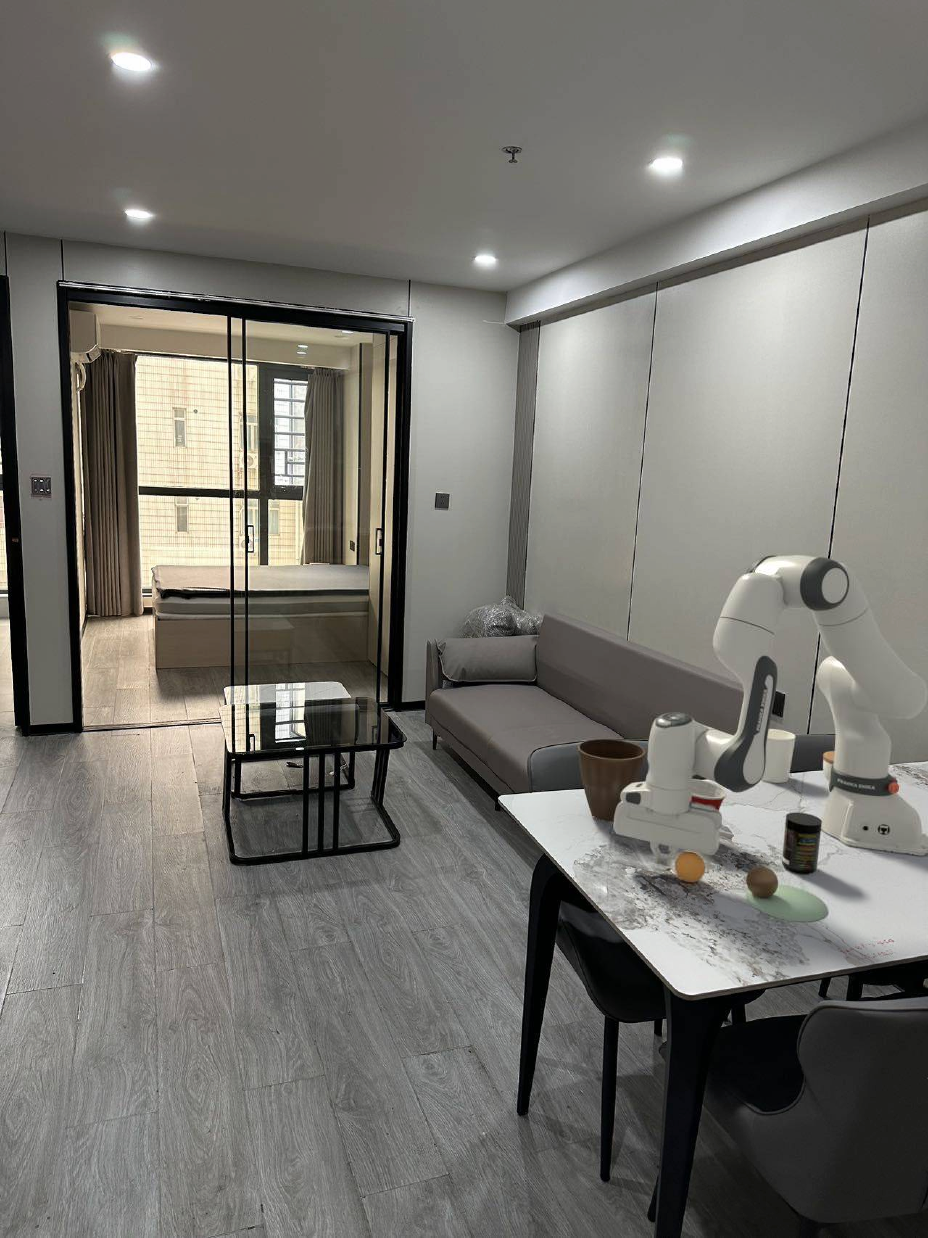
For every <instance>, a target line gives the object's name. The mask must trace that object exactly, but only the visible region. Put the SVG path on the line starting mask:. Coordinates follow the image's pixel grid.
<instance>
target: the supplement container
mask: <svg viewBox="0 0 928 1238" xmlns="http://www.w3.org/2000/svg"><path fill="white" fill-rule="evenodd" d="M821 819H822V818H819V817H818V816H815V815H813V814H811V813H806V812H789V813H787V814H786V815H785V822H784V833H783V845H782V854H781V855H782V856H781V864H782V866H783V868H784V869H785V870H787V871H789V872H790V873H794V874H798V875H812V874H814V873H815V872H816V871H817V869H818V863H819V852H820V843H821V842H820V841H821V833H822V829H821V827H822V820H821Z"/></svg>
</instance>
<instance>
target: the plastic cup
mask: <svg viewBox="0 0 928 1238" xmlns="http://www.w3.org/2000/svg"><path fill="white" fill-rule="evenodd" d="M692 781H693V787H692V800H691V801H692V802H696V803H700V804H704V805H711V806H714V807H715V809H717V810H718V811H719V812H720V809H721V806H722V803H723V801H724V799H725V798H727V796H728V791H727V789H726V788H725V787H723V786H721V785H719V784H717V783H716V784H715V782H714V783H713V782H711V781H707V780H702V779H695V778H692ZM714 812H716V811H714Z"/></svg>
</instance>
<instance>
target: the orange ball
mask: <svg viewBox="0 0 928 1238" xmlns="http://www.w3.org/2000/svg"><path fill="white" fill-rule="evenodd" d="M674 863H675V864H674V869H675V872H676V874H677V876H678V877H679V878H680V879H681V880H683V881H685V882H686V883H695V882H696V883H697V881H700V880H701V879H702V878H703V876H704V875H705V872H706V863H705V861H704V860H703V858H702V857H701V855H699V853H697V852H693V851H685V852H682V853H680V855H678V857H677V858H676V860H675V862H674Z"/></svg>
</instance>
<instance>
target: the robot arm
mask: <svg viewBox="0 0 928 1238" xmlns="http://www.w3.org/2000/svg"><path fill="white" fill-rule="evenodd" d="M853 572H854V571H852V569H851V568H850V567H849V566H848V565H847V564H845V563H843V562H839V561H836V560H834V559H832V558H828V557H822V556H821V557H820V556H819V557H815V556H810V555H803V554H801V555H800V554H794V555H767V556H763V557H759V558H758V559H756V560H754V562H752V563H751V565H750V566H749V567H748V569H746V572H745V574H743V575H741V576H740V577H739V578H738V579H737V581H736V583H734V585H733V588H732V589H731V590H730V593H729V595H728V596H727V598H726V601H725V603H724V606H723V608H722V610H721V613H720V616H719V618H718V621H717V624H716V627H715V629H714V633H713V637H712V646H713V650H714V653H715V655H716V657H717V658H718V660H719V661H720V663H722V665H723V666H725V668H726V669H727V670H729V671H730V673H733V675H735V676H736V677H737V678H738V679H739V681H740V683H741V686H742V688H743V699H742V703H741V704H742V705H741V711H740V715H739V720H738V721H739V722H738V726H737V731H736V733H735V734H734V735H733V734H730V733H727V732H725V731H721V730H719V729H716V728H713V727H710V726H707V725H705V724H702V723H699V722H697V721H695V719H694V718H693V716H691V715H690V714H688V713H683V712H678V711H677V712H666V713H663V714H661V715H658V716H656V718H655V719H654V720H653V722H652V725H651V729H650V734H649V737H648V744H647V745H648V747H647V756H646V757H647V759H646V760H647V763H648V770H647V774H646V776H645V781H638V782H636V783H631V784H630V785H628V786H627V787H625V788H624V789H623V791H622V792H621V795H620V799H621V802H620V803H619V804H618V805H617V808H616V811H615V816H614V822H613V824H612V825H613V826H612V827H613V830H614V832H615V834H616V835H620V836H624V837H628V838H634V839H637V840H640V841H641V840H642V841H647V842H650V843H649V844H650V845H649V847H650V849H651V851H652V853H653V855H654V864H655V865H658V866H659V865H660V866H663V867H667V868H670V867H671V866H672V861H673V857H674V855H676V853H677V851H678V850H679V849H680V850H684V851H688V852H693V853H696V854H703V855H708V856H713V855H714V854H715V853H716V852H717V851H719V847H720V828H721V827H722V824H723V823H722V821H723V816H722V813H721V811H720V810H719V811H718V810H717V809H715V807H714V806H711V805H704V804H700V803H696V802H692V801H691V800H692V787H693V781H692V779H693V776H697V775H698V777H702V778H704V779H706V780H709V781H710V782H711V781H712V782H714V783H716V784H717V785H719V786H720V787H722V788H724V789H726V790H729V791H731V792H733V793H742V792H746V791H748V790H750V789H752V788H754V787H755V786H756V785H757V784H759V783H760V782H761V781H762V780H761V779H762V777H763V775H764V772H765V765H766V743H767V737H768V731H769V729H770V726H771V719H772V714H773V708H774V702H775V697H776V692H777V691H776V690H777V686H778V685H777V684H778V676H779V675H778V666H777V665H776V662H775V661H774V660H773V651H772V650H773V642H774V639H775V636H776V633H777V630H778V626H779V623H780V620H781V615H782V613H783V612H784V611H785V610H790V611H791V610H792V611H793V610H800V611H809V610H810V611H811V614H812V618H813V620H814V622H815V624H816V627H817V630H818V632H819V635H820V637H821V640H822V643H823V645H824V647H825V650H826V651H827V652H828V654H829V656H828V657H826V658H825V659H823V661H822V662H821V663H820V665H819V667H818V669H817V673H816V683H817V686H818V689H819V690H820V691H821V692H822V693H823V695H824V697H825V698H826V700H827V703H828V705H829V708H830V712H831V714H832V719H833V723H834V731H835V732H834V733H835V739H834V740H835V741H834V742H835V744H834V751H835V754H834V765H832V767H831V770H830V776H829V782H828V791H829V794H828V797H827V803H826V806H825V808H824V811H823V814H822V816H821V818H820V819H821V820H822V827H821V831H823V832H825V833H827V834H828V835H830V836H832V837H834V838H836V839H837V840H839V841H841V842H842V843H843V844H845V845H847V846H850V845H851V847H856V846H858V847H857V848H865V849H870V848H871V849H872V850H878V851H884V850H886V852H891V851H893V852H892V853H900V854H905V853H909V854H908V855H912V854H914V856H920V857H921V856H926V855H927V854H926V853H928V833H927V832H925V831H924V830H923V825H922V821H921V817H920V814H919V813H918V811H917V810H916V809H915V808H914V807H913V806H912V805H911V804H909V802H907V801H906V800H905V799H904V798H903V797H902V796H900V794H898V792H899V791H900V785H899V784H898V779H897V777H896V775H894V776H893V775H891V774H890V773H889V770H890V769H889V768H890V761H891V759H890V758H891V751H892V740H891V738H890V736H889V734H888V733H887V731H885V729H884V727H883V725H882V724H881V723H880V720H879V718H878V716H881V717H885V718H890V719H901V720H910V719H912V718H915V717H916V716H917V715H919V714H920V713H921V712H922V711H923V710H924V708H925V706H926V704H927V702H928V688H927V687H928V686H927V684H926V682H925V680H924V679H923V678H922V677H921V676H919V675H918V674H917V673H915V671H913V670H912V669H910V668H909V667H908V666H907V665H906V663H904V662H903V661H902V660H901V658H900V657H899V656H898V654H897V653H896V652H895V651H894V650H893V648H892V647H891V646H890V645H889V643H888V641H887V640H886V639H885V637H884V636H883V634H882V632H881V631H880V628H879V626H878V624H877V622H876V620H875V619H876V618H875V616H874V614H873V611H872V608H871V606H870V603H869V601H868V598H867V595H866V594H865V591H864V590H863V587H862V585H861V584H860V581H859V580H858V579H857V577H856V574H854V573H853ZM714 811H716V812H714ZM660 845H663V846H667V847H668V851H669V852H670V853H669V854H665V853H662V852H661V850H660V848H659V846H660ZM852 845H854V846H852ZM925 854H926V855H925Z"/></svg>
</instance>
